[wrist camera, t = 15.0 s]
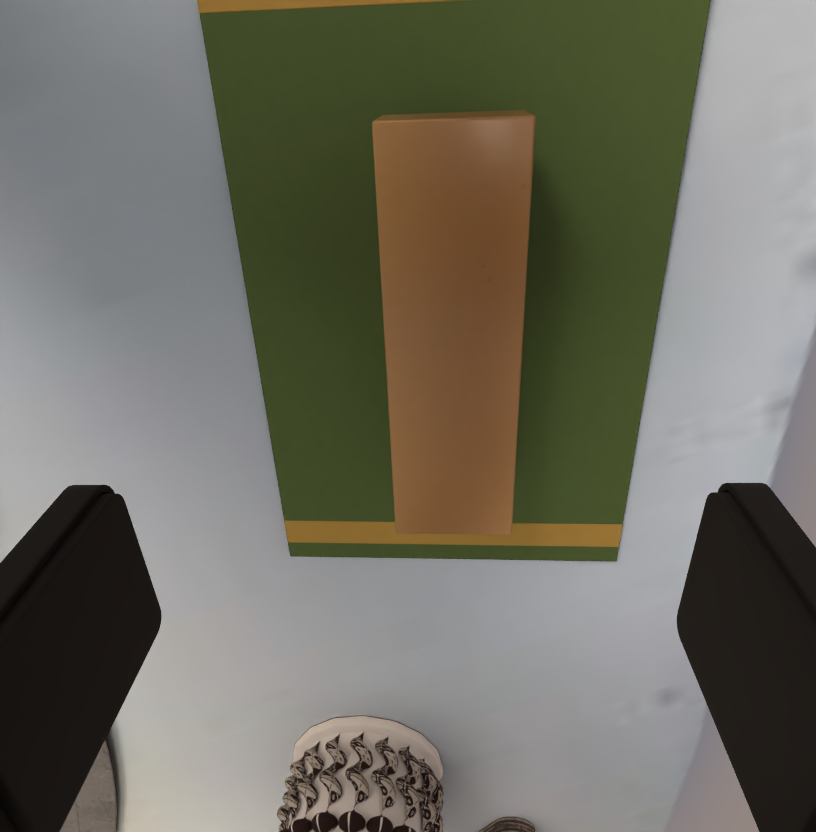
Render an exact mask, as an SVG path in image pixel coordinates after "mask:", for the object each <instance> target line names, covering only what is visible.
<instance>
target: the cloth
mask: <svg viewBox="0 0 816 832" xmlns="http://www.w3.org/2000/svg"><path fill="white" fill-rule="evenodd" d="M197 1H198V7H199V13H200V18H201V24H202V30H203V36H204V42H205V48H206V54H207V60H208V66H209V72H210V78H211V84H212V90H213V96H214V102H215V108H216V114H217V120H218V126H219V132H220V138H221V144H222V150H223V156H224V162H225V168H226V174H227V180H228V186H229V192H230V198H231V204H232V210H233V216H234V222H235V228H236V234H237V239H238V245H239V251H240V257H241V263H242V269H243V275H244V281H245V287H246V293H247V299H248V305H249V311H250V317H251V323H252V329H253V335H254V341H255V347H256V353H257V359H258V365H259V371H260V377H261V383H262V389H263V395H264V401H265V407H266V413H267V419H268V425H269V431H270V437H271V443H272V449H273V455H274V461H275V467H276V473H277V479H278V485H279V491H280V497H281V503H282V509H283V515H284V522H285V528H286V534H287V540H288V545H289V551H290V556H307V557H372V558H436V559H500V560H565V561H617V555H618V549H619V544H620V538H621V532H622V526H623V519H624V513H625V507H626V501H627V496H628V490H629V484H630V478H631V472H632V466H633V460H634V454H635V448H636V442H637V436H638V430H639V424H640V418H641V412H642V406H643V400H644V394H645V388H646V382H647V376H648V370H649V364H650V358H651V352H652V347H653V341H654V335H655V329H656V323H657V317H658V311H659V305H660V299H661V293H662V287H663V281H664V275H665V269H666V263H667V257H668V251H669V245H670V239H671V233H672V227H673V221H674V215H675V209H676V203H677V198H678V192H679V186H680V180H681V174H682V168H683V162H684V156H685V150H686V144H687V138H688V132H689V126H690V120H691V114H692V108H693V102H694V96H695V90H696V84H697V78H698V72H699V66H700V60H701V55H702V49H703V43H704V37H705V31H706V25H707V19H708V13H709V7H710V1H711V0H197ZM503 110H525V111H527V112H529V113H531V114H533V115H534V116H535V117H536V121H535V138H534V156H533V173H532V190H531V207H530V225H529V242H528V259H527V276H526V294H525V311H524V328H523V345H522V363H521V380H520V397H519V414H518V432H517V449H516V466H515V483H514V501H513V518H512V533H511V535H483V534H403V533H396V530H395V513H394V496H393V478H392V461H391V444H390V427H389V409H388V392H387V375H386V358H385V340H384V323H383V306H382V289H381V272H380V254H379V237H378V220H377V203H376V185H375V168H374V151H373V134H372V122H373V121H374V120H376V119H377V118H379V117H380V116H382V115H392V114H420V113H448V112H476V111H503Z"/></svg>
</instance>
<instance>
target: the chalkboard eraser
mask: <svg viewBox="0 0 816 832" xmlns="http://www.w3.org/2000/svg"><path fill="white" fill-rule="evenodd" d="M535 121H536V117H535V116H534V115H533V114H531V113H529V112H527V111H525V110H503V111H476V112H448V113H420V114H392V115H382V116H380V117H379V118H377V119H376V120H374V121H373V122H372V134H373V151H374V168H375V185H376V203H377V220H378V237H379V254H380V272H381V289H382V306H383V323H384V340H385V358H386V375H387V392H388V409H389V427H390V444H391V461H392V478H393V496H394V513H395V530H396V533H403V534H483V535H511V533H512V518H513V501H514V483H515V466H516V449H517V432H518V414H519V397H520V380H521V363H522V345H523V328H524V311H525V294H526V276H527V259H528V242H529V225H530V207H531V190H532V173H533V156H534V138H535Z"/></svg>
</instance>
